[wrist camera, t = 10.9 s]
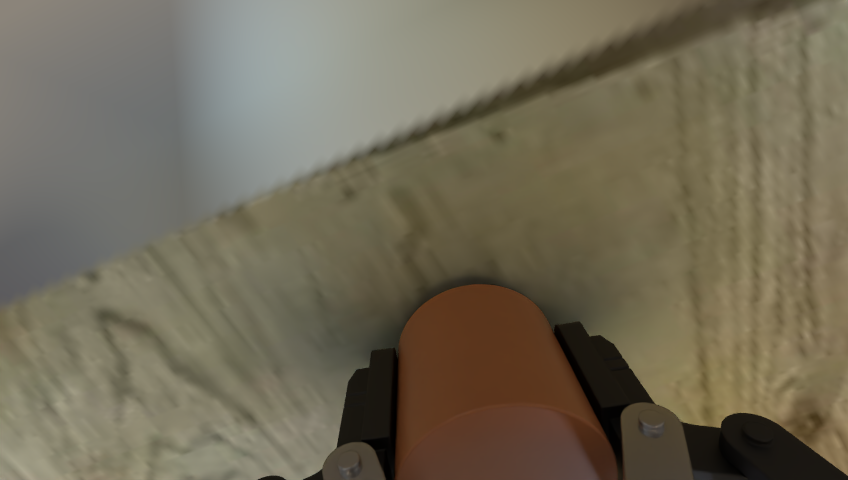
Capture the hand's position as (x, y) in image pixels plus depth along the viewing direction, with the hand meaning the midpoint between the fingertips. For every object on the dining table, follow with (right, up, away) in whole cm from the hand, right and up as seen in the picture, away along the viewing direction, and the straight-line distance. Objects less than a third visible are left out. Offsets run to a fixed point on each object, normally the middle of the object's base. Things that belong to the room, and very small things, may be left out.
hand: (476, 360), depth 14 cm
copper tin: (0, 0, 0) cm, 0 cm away
